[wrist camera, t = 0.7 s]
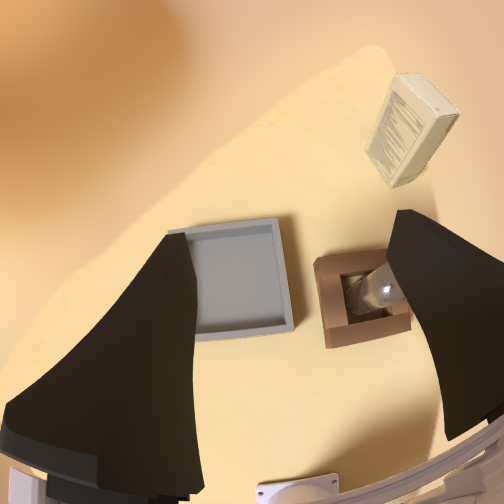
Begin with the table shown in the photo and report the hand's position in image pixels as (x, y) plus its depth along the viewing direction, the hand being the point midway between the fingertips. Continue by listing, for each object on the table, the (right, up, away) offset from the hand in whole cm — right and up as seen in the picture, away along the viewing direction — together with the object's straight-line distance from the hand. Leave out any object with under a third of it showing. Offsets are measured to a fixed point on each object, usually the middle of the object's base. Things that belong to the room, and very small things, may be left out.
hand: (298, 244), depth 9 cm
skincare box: (+15, +10, +21) cm, 28 cm away
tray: (-4, -3, +17) cm, 18 cm away
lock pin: (+9, -5, +16) cm, 19 cm away
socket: (+9, -5, +16) cm, 19 cm away
